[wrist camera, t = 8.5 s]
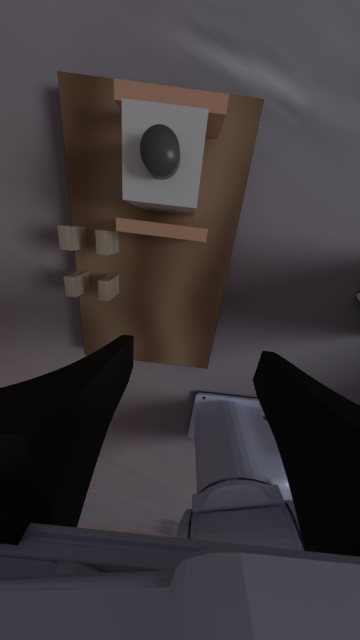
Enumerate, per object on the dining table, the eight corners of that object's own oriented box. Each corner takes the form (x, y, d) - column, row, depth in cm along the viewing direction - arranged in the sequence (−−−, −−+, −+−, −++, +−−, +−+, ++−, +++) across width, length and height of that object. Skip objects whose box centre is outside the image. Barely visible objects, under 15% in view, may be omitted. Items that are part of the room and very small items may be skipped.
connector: (201, 150, 14) (211, 95, 8) (193, 215, 15) (197, 206, 10) (143, 142, 14) (114, 83, 8) (141, 209, 15) (116, 196, 10)
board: (256, 112, 14) (281, 69, 10) (206, 360, 22) (209, 385, 19) (70, 87, 14) (27, 34, 10) (90, 346, 22) (71, 369, 19)
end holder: (220, 123, 13) (229, 94, 10) (202, 240, 16) (205, 242, 13) (129, 110, 13) (113, 78, 10) (128, 231, 16) (116, 231, 13)
